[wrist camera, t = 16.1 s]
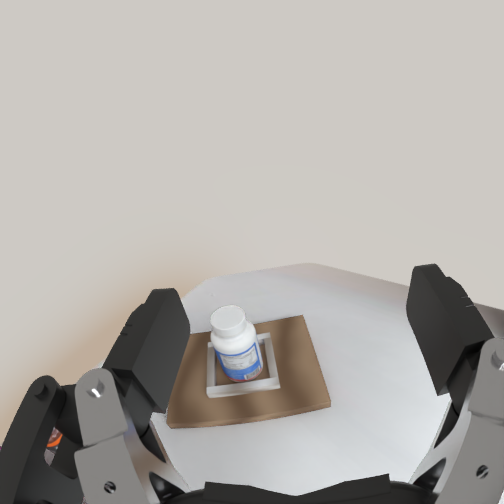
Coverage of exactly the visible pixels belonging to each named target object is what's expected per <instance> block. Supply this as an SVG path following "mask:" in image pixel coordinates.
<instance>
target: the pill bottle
mask: <svg viewBox="0 0 504 504" xmlns="http://www.w3.org/2000/svg"><path fill="white" fill-rule="evenodd" d="M210 323H211V326H212V332H211V342H212V345H213V347H214V350H215V352H216V354H217V357H218V359H219V362H220V364H221V366H222V369H223V371H224V373H225V375H226V376H227V377H228V378H229V379H231V380H233V381H235V382H248V381H250V380H252V379H254V378H256V377H257V376H258V375H259V374H260V372H261V371H262V368H263V360H262V355H261V351H260V347H259V343H258V339H257V335H256V330H255V327H254V325H253V324H252V323H251V322H250V321H249V320H248V319H246V316H245V312H244V310H243V309H242V308H240V307H239V306H235V305H227V306H223V307H220V308H218V309H217V310H215V311H214V312H213V313H212V315H211V317H210Z"/></svg>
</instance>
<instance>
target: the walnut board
mask: <svg viewBox="0 0 504 504" xmlns="http://www.w3.org/2000/svg"><path fill="white" fill-rule="evenodd" d="M253 325H254V327H255V330H256V335H257V339H258V343H259V347H260V351H261V355H262V360H263V368H262V371H261V372H260V374H259V375H258V376H257V377H256V378H254V379H252V380H250V381H248V382H235V381H233V380H231V379H229V378H228V377H227V376H226V375H225V373H224V371H223V369H222V366H221V364H220V362H219V359H218V357H217V354H216V352H215V350H214V347H213V345H212V342H211V332H212V331H210V332H203V333H196V334H190V337H189V340H188V343H187V346H186V349H185V352H184V355H183V358H182V362H181V365H180V368H179V371H178V374H177V377H176V380H175V383H174V386H173V390H172V393H171V396H170V399H169V405H168V414H167V424H168V426H169V427H170V428H196V427H211V426H223V425H233V424H242V423H249V422H257V421H263V420H270V419H275V418H281V417H287V416H292V415H297V414H301V413H306V412H311V411H315V410H319V409H323V408H327V407H330V404H331V400H330V397H329V393H328V390H327V387H326V384H325V381H324V378H323V375H322V372H321V368H320V365H319V362H318V359H317V356H316V353H315V350H314V347H313V344H312V341H311V338H310V335H309V332H308V329H307V326H306V323H305V320H304V317H303V315H300V316H295V317H290V318H285V319H280V320H275V321H270V322H264V323H259V324H253Z"/></svg>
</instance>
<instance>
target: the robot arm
mask: <svg viewBox="0 0 504 504" xmlns="http://www.w3.org/2000/svg"><path fill="white" fill-rule="evenodd" d="M406 311H407V317H408V320H409V323H410V325H411V327H412V330H413V332H414V334H415V337H416V339H417V342H418V344H419V347H420V349H421V352H422V354H423V357H424V360H425V362H426V365H427V368H428V370H429V373H430V376H431V379H432V381H433V384H434V387H435V390H436V393H437V396H439V395H443V394H446V393H450V396H451V400H450V401H449V403H448V406H447V408H446V411H445V414H444V416H443V419H442V421H441V424H440V426H439V429H438V431H437V433H436V436H435V438H434V440H433V442H432V445H431V447H430V449H429V451H428V453H427V454H426V456H425V457H424V459H423V460H422V461H421V463H420V464H419V466H418V467H417V469H416V470H415V472H414V474H413V475H412V477H411V479H410V481H409V482H408V483H405V482H399V481H390V479H389V474H384V475H380V476H375V477H369V478H364V479H358V480H351V481H345V482H342V483H339V484H336V485H333V486H330V487H327V488H324V489H321V490H317V491H314V492H311V493H307V494H303V495H299V496H292V495H287V494H282V493H277V492H273V491H268V490H264V489H260V488H256V487H253V486H249V485H234V484H222V483H213V482H205V488H204V489H200V490H195V491H191V490H190V488H189V487H188V485H187V483H186V482H185V480H184V479H183V478H182V476H181V475H180V474H179V473H178V472H177V471H176V469H175V468H174V466H173V465H172V463H171V461H170V459H169V457H168V455H167V453H166V451H165V449H164V447H163V445H162V443H161V440H160V438H159V436H158V434H157V432H156V429H155V427H154V425H153V423H152V421H151V420H150V418H151V415H152V412H157V413H164V414H165V412H166V409H167V406H168V402H169V399H170V396H171V393H172V390H173V386H174V383H175V380H176V377H177V374H178V371H179V368H180V365H181V362H182V358H183V355H184V352H185V349H186V346H187V343H188V340H189V337H190V324H189V320H188V318H187V315H186V313H185V310H184V308H183V305H182V303H181V300H180V297H179V295H178V293H177V291H176V290H175V289H174V288H168V289H154V290H152V292H151V293H150V295H149V296H148V298H147V300H146V302H145V304H141V305H140V306H139V307H138V308H137V309H136V310H135V311H134V312H132V314H131V315H130V317H129V319H128V320H127V322H126V324H125V327H123V329H122V331H121V333H120V335H119V337H118V338H117V340H116V342H115V344H114V345H113V347H112V349H111V351H110V353H109V355H108V357H107V359H106V360H105V362H104V364H103V366H102V368H97V369H93V370H90V371H88V372H87V373H85V374H84V375H83V376H82V377H81V378H80V379H79V381H78V382H77V384H73V385H65V386H60V385H59V384H58V383H57V381H56V380H55V379H54V378H53V377H51V376H48V375H47V376H42V377H39V378H38V379H37V380H35V381H34V382H33V383H32V384H31V386H30V387H29V389H28V391H27V393H26V395H25V397H24V399H23V401H22V403H21V405H20V407H19V409H18V411H17V413H16V415H15V417H14V420H13V422H12V424H11V426H10V428H9V431H8V433H7V435H6V438H5V440H4V442H3V445H2V447H1V450H0V504H82V500H83V496H84V497H85V500H86V503H87V504H498V503H499V500H500V498H501V495H502V493H503V490H504V339H502V338H495V337H494V336H493V334H492V332H491V331H490V329H489V327H488V326H487V324H486V322H485V321H484V319H483V318H482V316H481V314H480V313H479V311H478V310H477V308H476V307H475V306H474V304H473V302H472V301H471V299H470V298H468V295H467V293H466V292H465V290H464V289H463V288H462V286H461V285H460V284H459V283H457V282H456V281H455V280H453V279H452V278H451V277H446V276H445V275H444V274H443V272H442V271H441V270H440V268H439V267H438V266H437V265H436V264H428V265H421V266H415V267H414V269H413V272H412V278H411V283H410V288H409V293H408V298H407V304H406ZM54 428H55V429H57V430H58V431H59V432H60V433H61V434H62V437H61V439H60V442H59V445H58V447H57V450H56V453H55V456H54V459H53V461H52V464H51V465H50V466H49V465H48V464H47V463H46V461H45V459H44V453H45V450H46V447H47V444H48V442H49V439H50V436H51V434H52V431H53V429H54Z"/></svg>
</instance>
